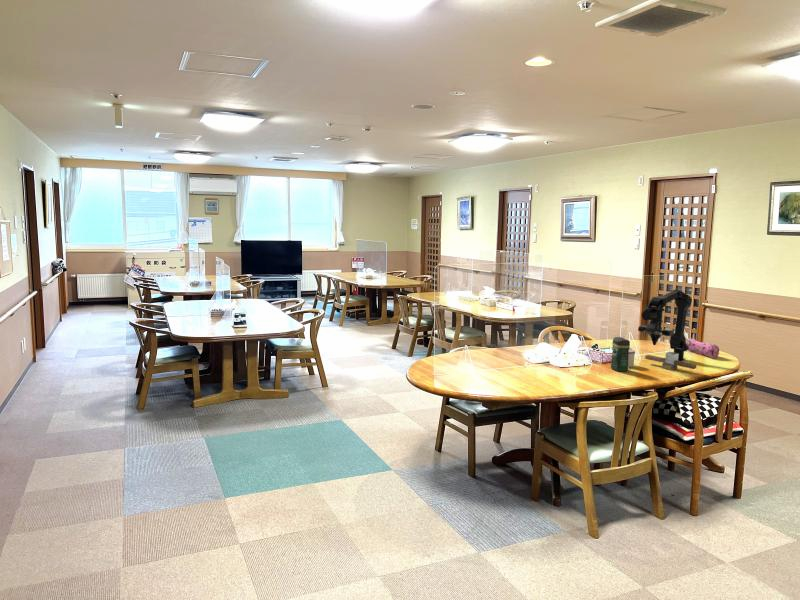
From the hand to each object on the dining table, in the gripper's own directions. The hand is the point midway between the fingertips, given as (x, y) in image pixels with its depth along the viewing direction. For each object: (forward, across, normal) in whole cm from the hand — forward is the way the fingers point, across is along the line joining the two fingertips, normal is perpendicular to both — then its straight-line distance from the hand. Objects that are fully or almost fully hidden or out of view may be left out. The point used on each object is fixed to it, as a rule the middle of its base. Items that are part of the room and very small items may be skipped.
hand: (654, 345), depth 346 cm
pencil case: (+12, +8, +50) cm, 52 cm away
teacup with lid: (+12, -10, -15) cm, 22 cm away
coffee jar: (+12, -7, -26) cm, 30 cm away
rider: (+8, +11, 0) cm, 14 cm away
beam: (+12, +10, 0) cm, 16 cm away
